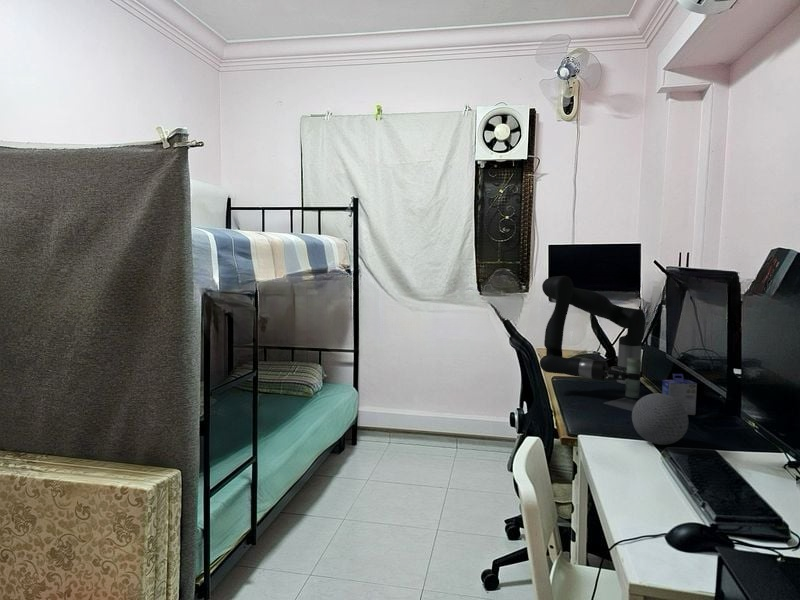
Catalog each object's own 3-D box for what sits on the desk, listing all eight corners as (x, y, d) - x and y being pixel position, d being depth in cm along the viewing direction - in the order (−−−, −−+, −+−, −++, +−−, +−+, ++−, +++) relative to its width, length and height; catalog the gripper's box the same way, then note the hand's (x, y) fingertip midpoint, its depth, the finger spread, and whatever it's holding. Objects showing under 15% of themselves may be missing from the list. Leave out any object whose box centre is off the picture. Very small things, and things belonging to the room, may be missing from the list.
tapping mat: (624, 399, 195) (624, 397, 195) (659, 409, 183) (659, 406, 183) (602, 405, 187) (602, 402, 187) (638, 415, 176) (638, 412, 175)
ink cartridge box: (687, 412, 180) (690, 373, 178) (696, 417, 174) (698, 376, 173) (659, 412, 180) (662, 372, 179) (667, 417, 174) (670, 376, 173)
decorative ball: (671, 457, 139) (674, 404, 138) (620, 440, 151) (623, 392, 150) (696, 445, 148) (699, 396, 147) (646, 431, 160) (649, 385, 159)
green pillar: (629, 393, 188) (631, 357, 187) (641, 396, 184) (643, 359, 183) (622, 395, 186) (624, 358, 184) (634, 398, 182) (636, 360, 180)
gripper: (588, 363, 187) (637, 369, 177) (598, 356, 198) (645, 362, 188) (587, 382, 187) (636, 390, 177) (597, 375, 199) (644, 382, 189)
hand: (641, 376), depth 183 cm, fingers closed on green pillar, 4 cm apart
